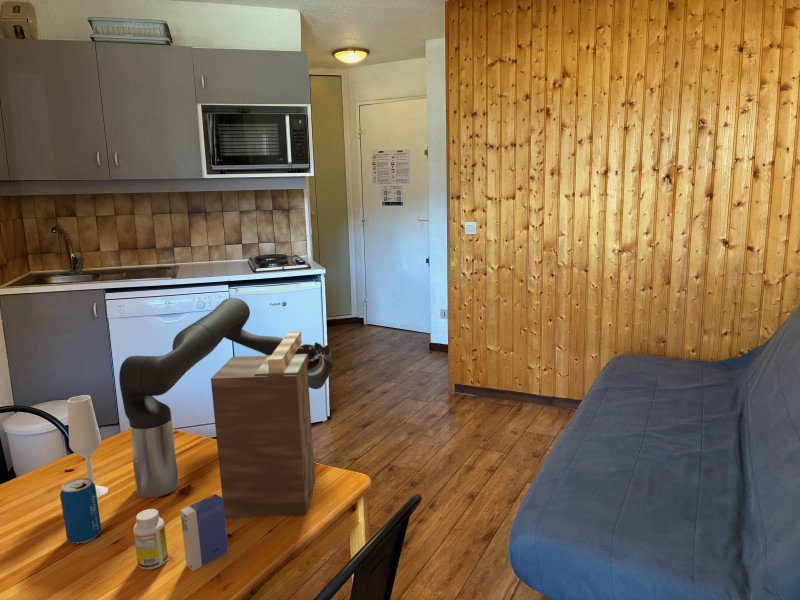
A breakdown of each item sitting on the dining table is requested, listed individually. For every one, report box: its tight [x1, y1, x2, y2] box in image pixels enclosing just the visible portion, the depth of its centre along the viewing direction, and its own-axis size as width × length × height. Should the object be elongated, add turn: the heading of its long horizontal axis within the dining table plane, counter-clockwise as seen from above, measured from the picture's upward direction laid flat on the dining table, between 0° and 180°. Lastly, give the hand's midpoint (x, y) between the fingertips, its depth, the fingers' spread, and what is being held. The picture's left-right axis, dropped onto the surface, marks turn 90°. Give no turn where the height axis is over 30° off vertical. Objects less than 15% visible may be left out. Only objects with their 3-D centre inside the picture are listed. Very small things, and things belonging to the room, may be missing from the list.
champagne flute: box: [67, 394, 109, 499], centre depth 141 cm, size 7×7×24 cm
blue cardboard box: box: [179, 493, 229, 572], centre depth 115 cm, size 8×3×12 cm, turn 139°
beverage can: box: [59, 477, 102, 545], centre depth 124 cm, size 6×6×12 cm
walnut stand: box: [210, 354, 316, 519], centre depth 135 cm, size 16×18×32 cm
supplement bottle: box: [132, 508, 169, 570], centre depth 115 cm, size 6×6×10 cm
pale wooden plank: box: [268, 330, 303, 373], centre depth 137 cm, size 24×3×3 cm, turn 0°
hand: (299, 346), depth 154 cm, fingers open, 8 cm apart
